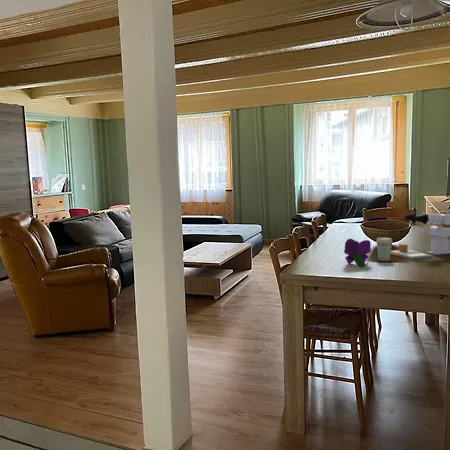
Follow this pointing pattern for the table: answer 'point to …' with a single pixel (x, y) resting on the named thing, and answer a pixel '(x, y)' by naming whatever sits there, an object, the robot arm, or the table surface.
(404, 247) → the pink panel with block
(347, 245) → the flower
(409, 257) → the ticket board
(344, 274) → the table surface
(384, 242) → the coffee cup
